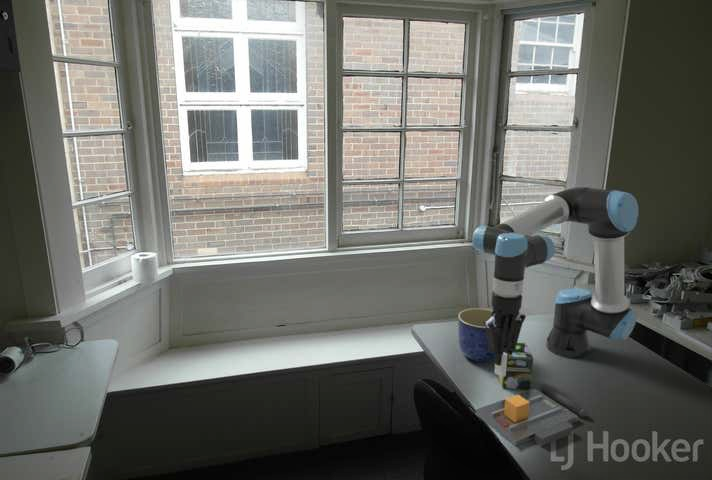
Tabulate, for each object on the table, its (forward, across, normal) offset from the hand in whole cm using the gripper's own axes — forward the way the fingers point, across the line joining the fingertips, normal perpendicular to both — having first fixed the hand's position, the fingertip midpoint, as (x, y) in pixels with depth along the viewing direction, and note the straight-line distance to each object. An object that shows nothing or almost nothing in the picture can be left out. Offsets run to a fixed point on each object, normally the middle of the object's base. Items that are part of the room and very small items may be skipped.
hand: (499, 374), depth 131 cm
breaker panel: (+17, +12, 0) cm, 21 cm away
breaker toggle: (+15, +8, 0) cm, 17 cm away
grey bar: (+17, +12, -10) cm, 23 cm away
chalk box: (+17, +23, +16) cm, 33 cm away
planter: (+17, +25, +35) cm, 46 cm away
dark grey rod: (+17, +27, 0) cm, 32 cm away
